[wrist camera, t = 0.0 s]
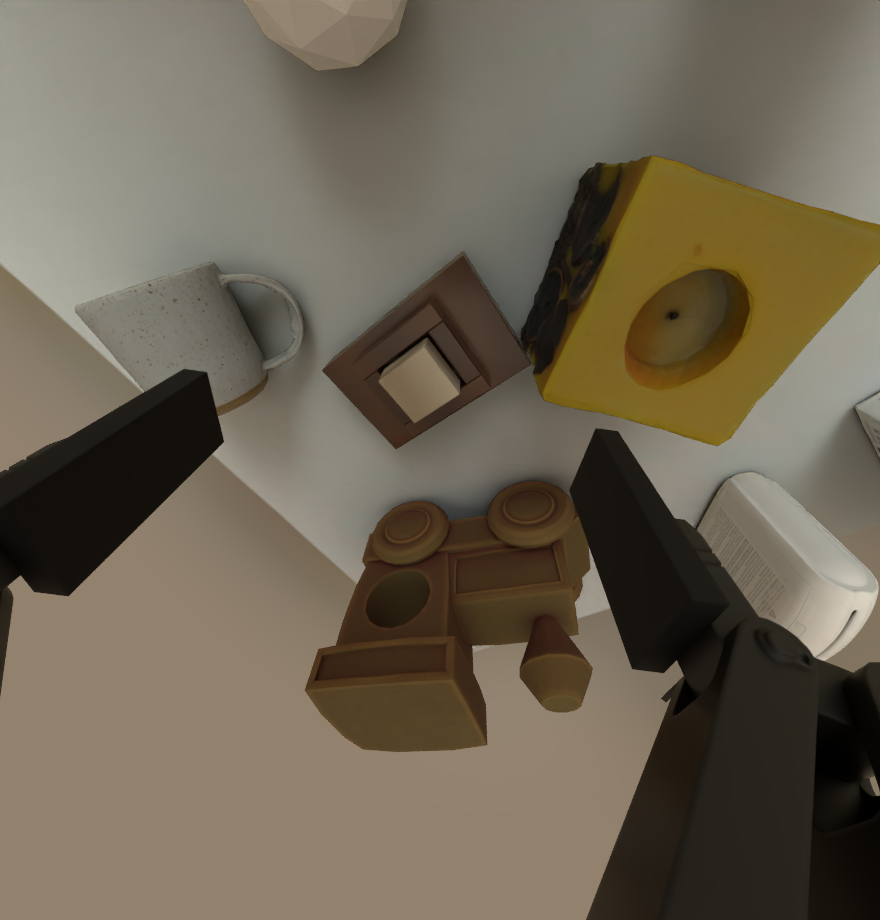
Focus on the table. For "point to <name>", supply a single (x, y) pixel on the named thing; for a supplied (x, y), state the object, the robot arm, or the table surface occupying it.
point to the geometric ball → (329, 28)
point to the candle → (686, 295)
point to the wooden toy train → (456, 620)
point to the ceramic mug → (189, 332)
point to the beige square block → (420, 381)
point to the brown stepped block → (450, 331)
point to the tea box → (871, 419)
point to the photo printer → (789, 563)
